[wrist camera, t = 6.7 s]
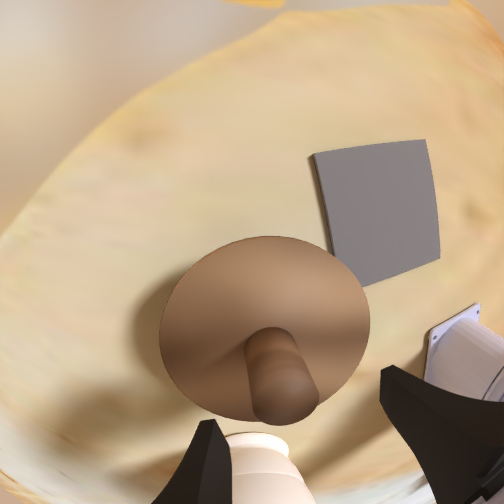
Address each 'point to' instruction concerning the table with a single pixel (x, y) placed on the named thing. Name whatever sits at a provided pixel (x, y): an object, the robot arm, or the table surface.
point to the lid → (264, 329)
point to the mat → (380, 207)
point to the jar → (264, 471)
